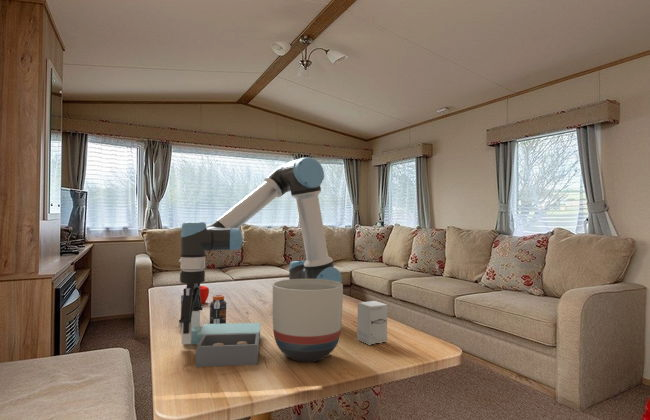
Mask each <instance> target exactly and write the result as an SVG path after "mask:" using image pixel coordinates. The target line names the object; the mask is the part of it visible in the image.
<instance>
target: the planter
mask: <svg viewBox="0 0 650 420" xmlns="http://www.w3.org/2000/svg"><path fill="white" fill-rule="evenodd" d="M343 287H344V284H343V283H342V282H341V283H340V282H337V281H332V280H325V279H283V280H278V281H274V282H273V284H272V331H273V337H274V340H275V343H276V345H277V348H278V349H279V350H280V352H281V353H283V354H284V355H285V356H286V357H288V358H290V359H291V360H293V361H297V362H301V363H302V362H304V363H305V362H307V363H310V362H316V361H320V360H323V359H324V358H326V357H327V356H329V355H330V354H331V353H332V352H333V351H334V350H335V349H336V347H337V345H338V343H339V341H340V338H341V333H342V327H343V326H342V325H343V324H342V323H343V301H344V300H343V296H344V295H343V294H344V289H343Z"/></svg>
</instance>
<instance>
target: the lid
mask: <svg viewBox="0 0 650 420" xmlns="http://www.w3.org/2000/svg"><path fill="white" fill-rule="evenodd" d="M243 333H259V343H260V341H261V322H237V323H236V322H235V323H234V322H233V323H231V322H230V323H227V322H226V324H210V323H203V325H202V326H200V327H192V337H191V344H190V345H198V343H199V341H200V340H201V338H202V336H203V335H209V334H243Z"/></svg>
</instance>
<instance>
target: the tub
mask: <svg viewBox="0 0 650 420" xmlns="http://www.w3.org/2000/svg"><path fill="white" fill-rule="evenodd" d="M240 341H246V342H247V344H243V345H237V342H240ZM215 343H223V344H224V345H214V346H213V344H215ZM259 346H260V342H259V333H243V334H209V335H203V336H202V338H201V340H200V341H199V343H198V344H196V346H195V347H196V348H195V368H204V367H205V368H207V367H208V368H209V367H210V368H211V367H229V366H233V367H234V366H256V365H258V360H259V350H260V349H259V348H260V347H259Z"/></svg>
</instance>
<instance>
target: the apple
mask: <svg viewBox="0 0 650 420" xmlns="http://www.w3.org/2000/svg"><path fill="white" fill-rule="evenodd" d="M200 294H201V305H202V304H204V303H206V302H207V300H208V298H209V294H210V289H209V287H208V286H206V285H205V286H204V285H200Z"/></svg>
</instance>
